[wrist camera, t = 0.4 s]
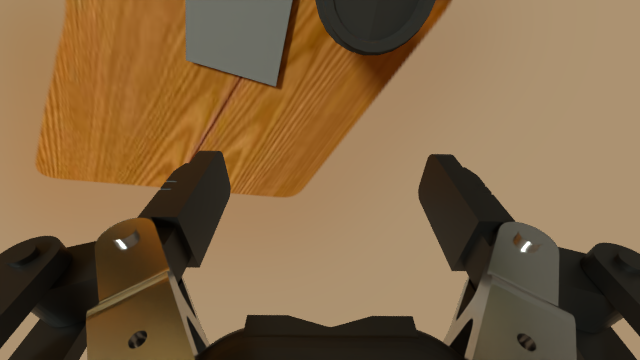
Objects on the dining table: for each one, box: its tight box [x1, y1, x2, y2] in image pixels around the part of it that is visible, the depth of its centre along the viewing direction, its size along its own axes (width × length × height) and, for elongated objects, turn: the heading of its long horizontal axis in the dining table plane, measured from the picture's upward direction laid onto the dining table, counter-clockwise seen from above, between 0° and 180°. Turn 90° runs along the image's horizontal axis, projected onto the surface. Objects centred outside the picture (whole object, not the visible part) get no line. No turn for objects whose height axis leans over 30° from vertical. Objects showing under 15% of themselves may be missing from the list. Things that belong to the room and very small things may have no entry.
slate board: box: [186, 0, 293, 86], centre depth 29 cm, size 12×11×1 cm
